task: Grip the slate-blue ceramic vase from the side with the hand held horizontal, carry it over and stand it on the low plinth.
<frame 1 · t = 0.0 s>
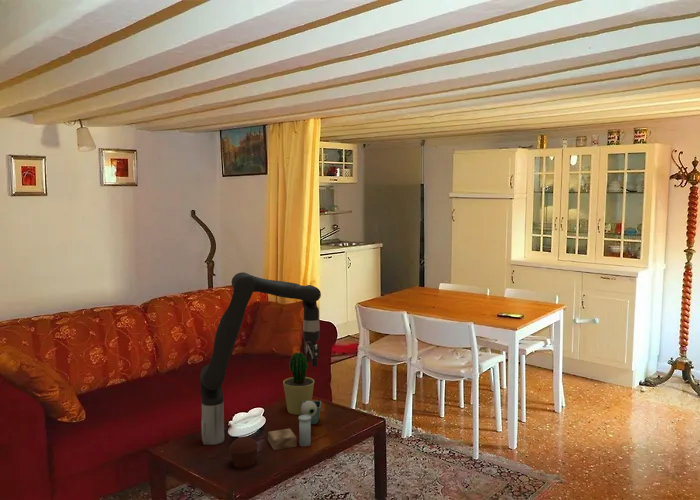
hand: (311, 363, 268), 29 cm above the table, tool pointing down, fingers open, 8 cm apart
potted cactus: (299, 410, 290), on the table
plinth: (282, 443, 251), on the table
vase: (305, 444, 250), on the table
muffin: (243, 463, 233), on the table
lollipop: (309, 434, 262), on the table
flower pot: (311, 422, 275), on the table
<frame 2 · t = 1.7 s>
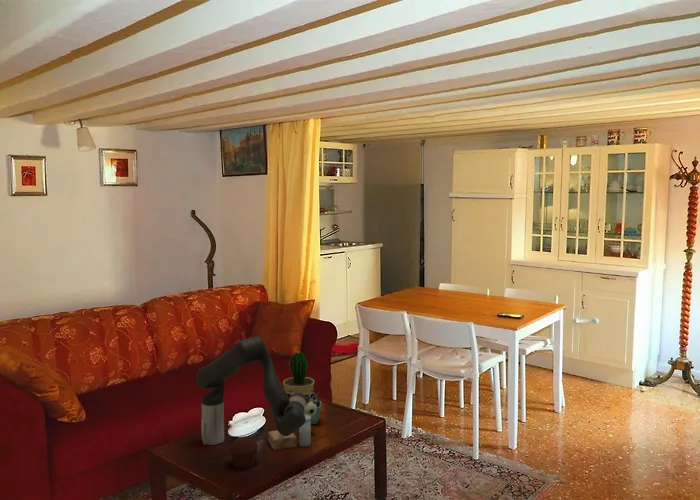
hand: (301, 392, 238), 26 cm above the table, tool horizontal, fingers open, 8 cm apart
nothing on the table moved.
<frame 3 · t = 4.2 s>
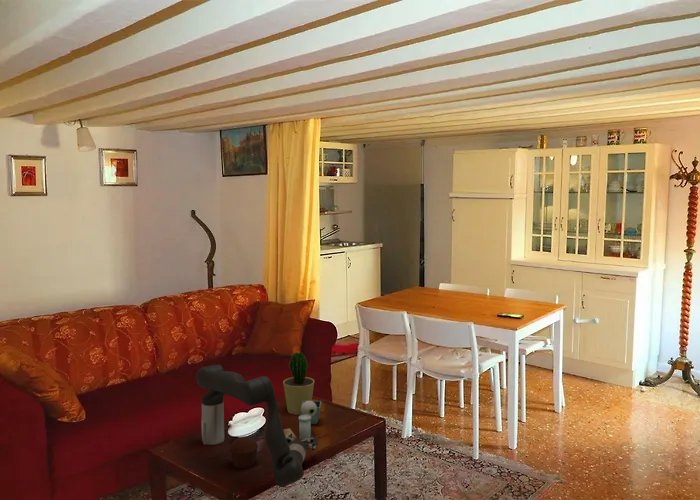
hand: (301, 436, 241), 7 cm above the table, tool horizontal, fingers open, 8 cm apart
nothing on the table moved.
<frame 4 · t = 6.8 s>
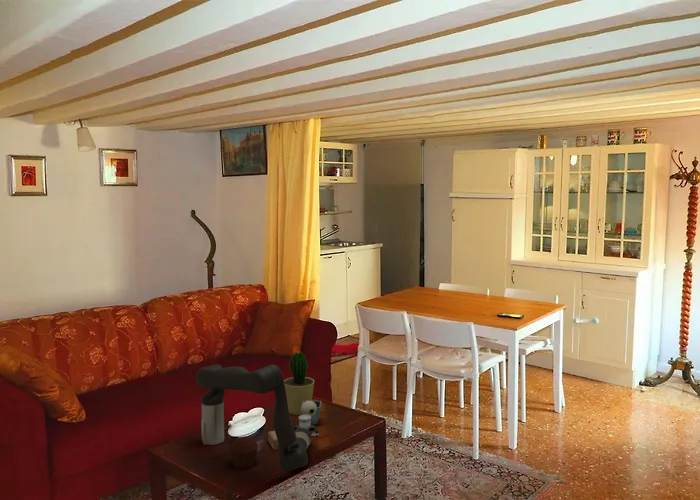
hand: (305, 424, 252), 8 cm above the table, tool horizontal, fingers closed on vase, 4 cm apart
vase: (305, 444, 250), on the table, touching gripper
everything else where it was.
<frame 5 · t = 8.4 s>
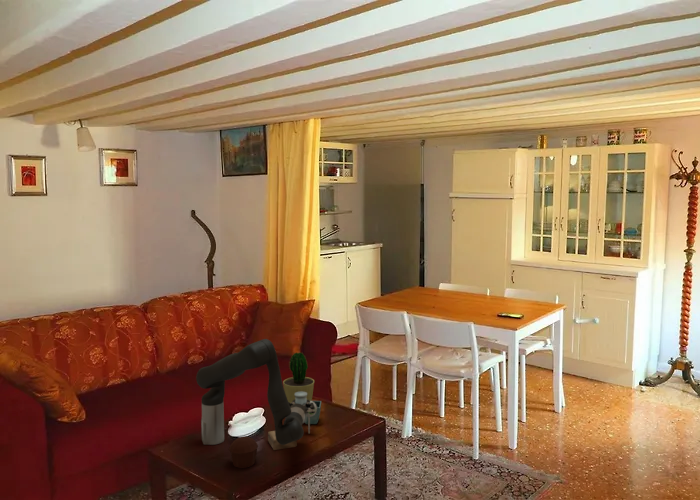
hand: (301, 401, 252), 18 cm above the table, tool horizontal, fingers closed on vase, 4 cm apart
vase: (301, 420, 250), point 10 cm above the table, touching gripper
everything else where it was.
when the fingers open (13 cm above the table, at t = 10.2 s): vase stays where it is, resting on plinth.
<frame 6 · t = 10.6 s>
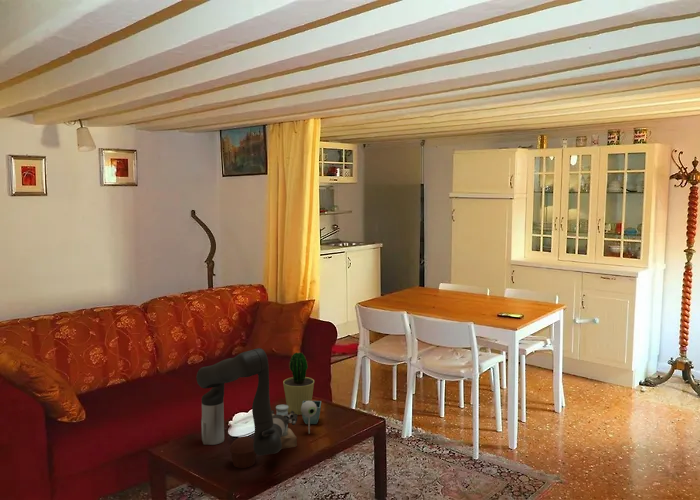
hand: (282, 412, 252), 13 cm above the table, tool horizontal, fingers open, 8 cm apart
vase: (282, 434, 250), point 4 cm above the table, touching plinth
everything else where it was.
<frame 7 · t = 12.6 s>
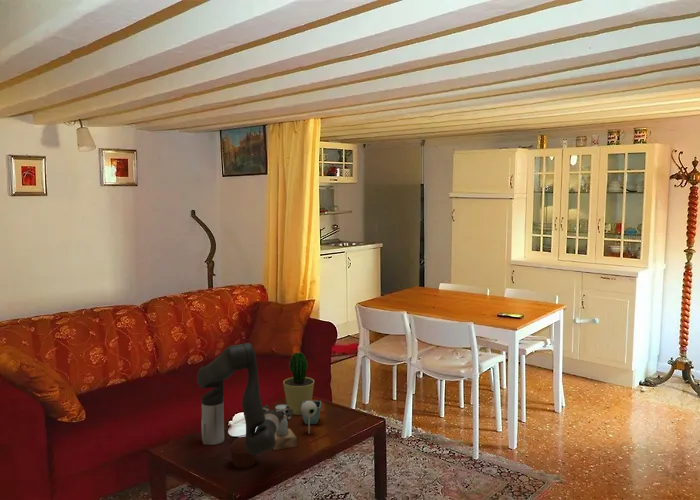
hand: (277, 407, 239), 20 cm above the table, tool horizontal, fingers open, 8 cm apart
nothing on the table moved.
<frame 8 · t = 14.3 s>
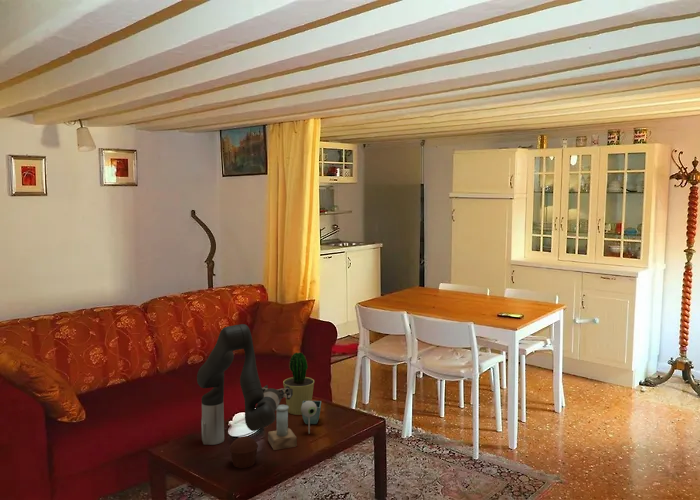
hand: (277, 387, 239), 28 cm above the table, tool horizontal, fingers open, 8 cm apart
nothing on the table moved.
at the end: vase inside the target area on the plinth (0.1 cm from its centre), point 4.3 cm above the plinth's base; vase tilted 1°; the gripper is holding nothing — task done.
